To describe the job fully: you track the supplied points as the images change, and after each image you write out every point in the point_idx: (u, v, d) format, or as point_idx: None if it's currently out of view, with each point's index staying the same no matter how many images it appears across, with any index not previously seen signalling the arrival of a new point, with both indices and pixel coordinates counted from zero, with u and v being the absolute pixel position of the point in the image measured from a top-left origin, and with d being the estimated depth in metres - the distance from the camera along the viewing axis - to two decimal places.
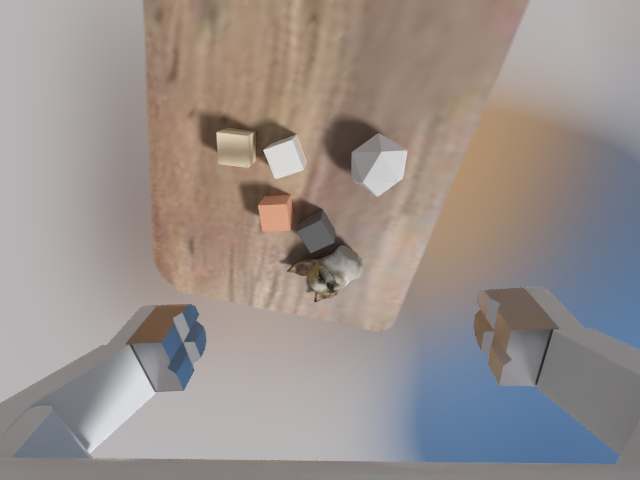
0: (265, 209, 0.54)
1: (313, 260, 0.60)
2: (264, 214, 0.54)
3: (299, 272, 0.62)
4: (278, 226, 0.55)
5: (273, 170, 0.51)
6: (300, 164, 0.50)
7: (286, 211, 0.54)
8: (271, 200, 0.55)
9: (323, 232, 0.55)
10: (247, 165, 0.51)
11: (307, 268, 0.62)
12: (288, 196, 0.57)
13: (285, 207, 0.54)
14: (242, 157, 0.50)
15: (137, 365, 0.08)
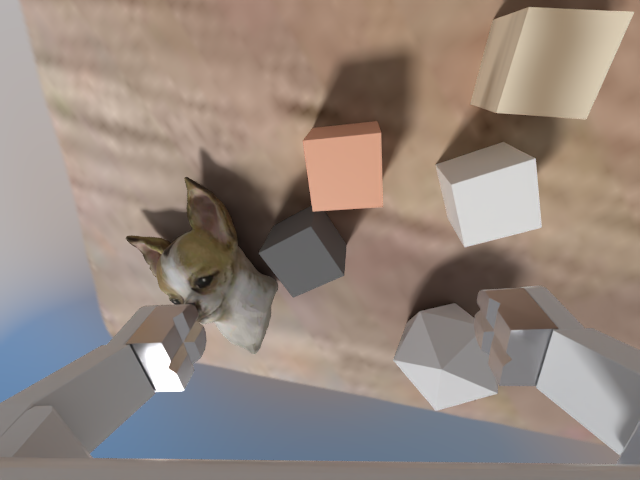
0: (369, 153, 0.20)
1: (234, 243, 0.27)
2: (354, 149, 0.20)
3: (191, 208, 0.26)
4: (321, 185, 0.21)
5: (475, 181, 0.20)
6: (478, 241, 0.22)
7: (363, 205, 0.22)
8: None
9: (314, 278, 0.25)
10: (502, 110, 0.18)
11: (209, 226, 0.27)
12: None
13: (374, 204, 0.22)
14: (529, 96, 0.18)
15: (137, 365, 0.08)
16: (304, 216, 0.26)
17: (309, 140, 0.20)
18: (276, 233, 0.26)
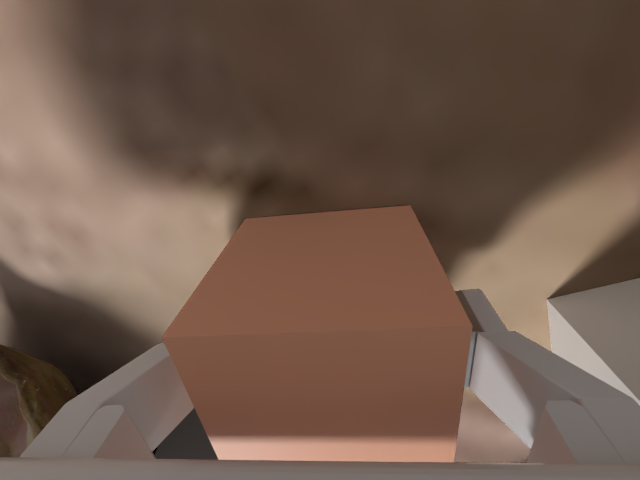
0: (415, 381, 0.05)
1: None
2: (360, 370, 0.05)
3: None
4: (249, 444, 0.07)
5: None
6: None
7: None
8: None
9: None
10: None
11: (11, 428, 0.11)
12: None
13: None
14: None
15: None
16: None
17: (187, 336, 0.05)
18: (174, 451, 0.11)
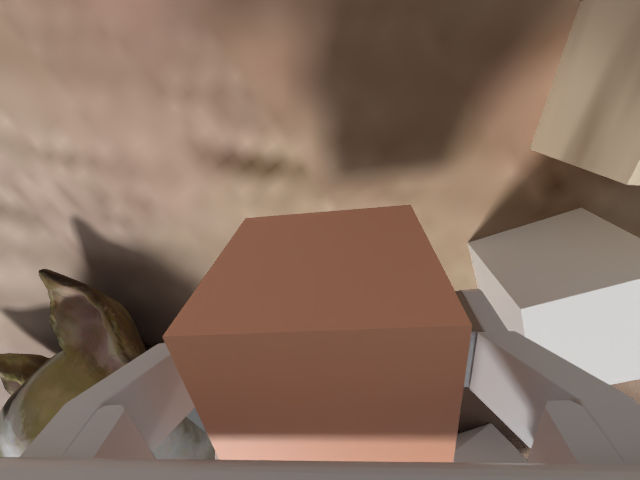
0: (415, 380, 0.05)
1: None
2: (360, 369, 0.05)
3: (58, 318, 0.15)
4: (250, 443, 0.07)
5: (567, 303, 0.11)
6: None
7: None
8: None
9: None
10: None
11: (94, 344, 0.16)
12: None
13: None
14: None
15: None
16: None
17: (188, 335, 0.05)
18: None
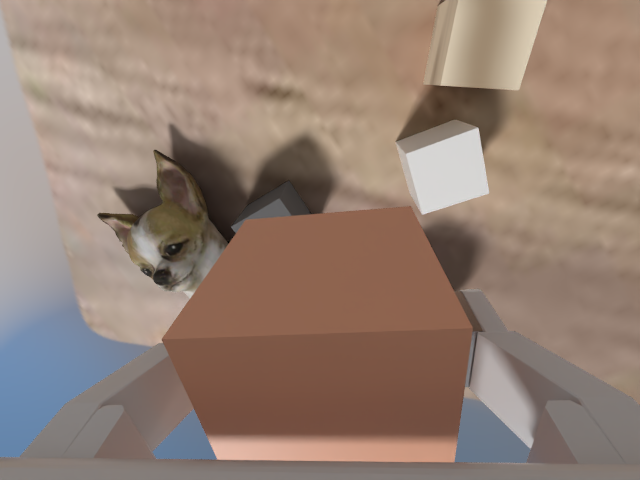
0: (416, 383, 0.05)
1: (204, 213, 0.27)
2: (360, 372, 0.05)
3: (161, 180, 0.27)
4: (249, 446, 0.07)
5: (427, 150, 0.22)
6: (434, 208, 0.24)
7: None
8: None
9: None
10: (445, 83, 0.20)
11: (179, 198, 0.28)
12: None
13: None
14: (468, 70, 0.20)
15: None
16: (274, 193, 0.28)
17: (187, 337, 0.05)
18: (249, 210, 0.28)
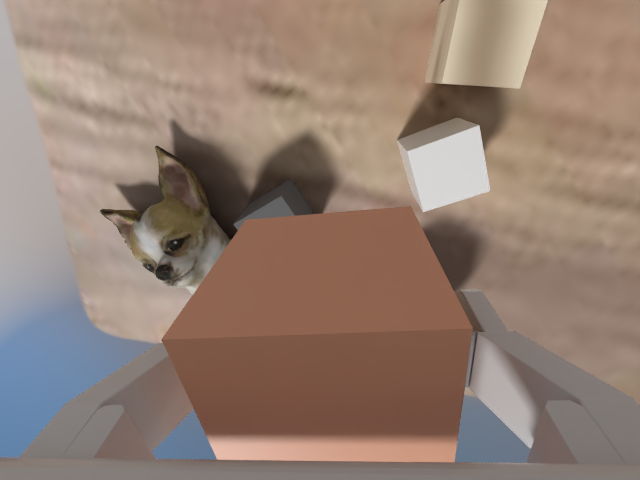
0: (416, 383, 0.05)
1: (206, 209, 0.28)
2: (360, 372, 0.05)
3: (163, 176, 0.27)
4: (249, 446, 0.07)
5: (428, 147, 0.22)
6: (435, 205, 0.24)
7: None
8: None
9: None
10: (447, 81, 0.20)
11: (181, 194, 0.28)
12: None
13: None
14: (469, 68, 0.20)
15: None
16: (276, 190, 0.28)
17: (187, 338, 0.05)
18: (251, 207, 0.28)
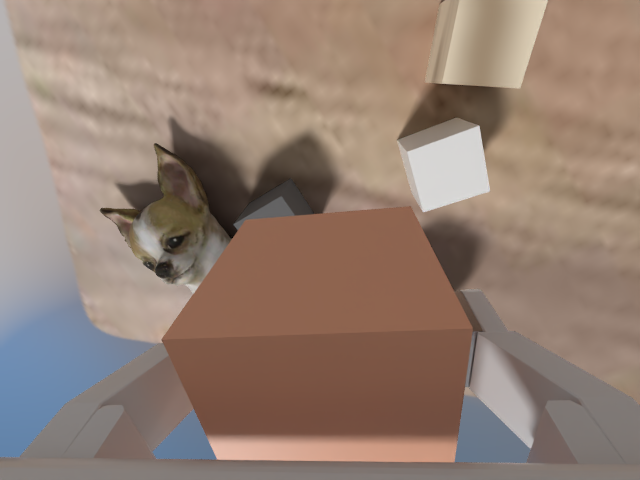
0: (416, 383, 0.05)
1: (205, 207, 0.27)
2: (360, 372, 0.05)
3: (162, 174, 0.27)
4: (249, 446, 0.07)
5: (428, 148, 0.22)
6: (435, 206, 0.24)
7: None
8: None
9: None
10: (447, 81, 0.20)
11: (180, 192, 0.28)
12: None
13: None
14: (469, 68, 0.20)
15: None
16: (276, 190, 0.28)
17: (187, 338, 0.05)
18: (251, 207, 0.28)
